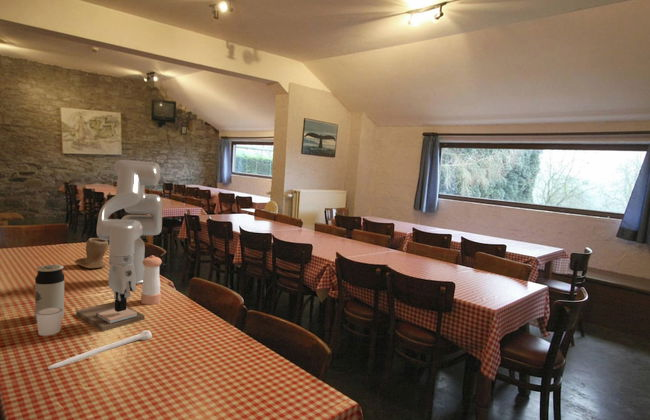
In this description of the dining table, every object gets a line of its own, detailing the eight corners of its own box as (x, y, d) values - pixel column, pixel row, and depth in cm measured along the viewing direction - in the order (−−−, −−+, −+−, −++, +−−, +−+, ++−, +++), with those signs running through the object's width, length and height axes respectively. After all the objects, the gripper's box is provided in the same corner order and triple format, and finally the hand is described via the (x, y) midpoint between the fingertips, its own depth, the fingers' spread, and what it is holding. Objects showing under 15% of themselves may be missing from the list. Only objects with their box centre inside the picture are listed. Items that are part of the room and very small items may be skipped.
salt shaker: (164, 300, 149) (166, 255, 147) (149, 305, 143) (151, 258, 141) (152, 297, 152) (153, 252, 150) (136, 302, 146) (138, 255, 144)
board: (76, 314, 130) (76, 310, 129) (116, 304, 141) (116, 301, 141) (102, 331, 118) (102, 327, 118) (144, 319, 130) (144, 315, 130)
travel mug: (61, 311, 131) (62, 263, 129) (65, 318, 125) (66, 268, 124) (33, 316, 125) (33, 266, 124) (36, 324, 120) (37, 271, 118)
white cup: (67, 330, 118) (68, 309, 117) (45, 338, 111) (45, 316, 110) (53, 325, 120) (53, 305, 119) (30, 333, 113) (30, 312, 113)
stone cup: (112, 267, 190) (112, 239, 188) (86, 271, 180) (87, 241, 179) (98, 261, 198) (99, 235, 197) (73, 265, 189) (74, 237, 187)
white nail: (52, 375, 93) (52, 364, 93) (46, 369, 96) (46, 359, 95) (154, 339, 117) (154, 330, 116) (147, 335, 119) (147, 327, 119)
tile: (110, 319, 120) (110, 323, 120) (136, 312, 128) (136, 315, 128) (96, 312, 126) (96, 315, 126) (122, 305, 133) (122, 309, 134)
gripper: (144, 262, 123) (142, 313, 125) (122, 253, 131) (120, 301, 133) (121, 265, 117) (120, 319, 119) (99, 256, 125) (98, 307, 127)
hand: (120, 310), depth 126 cm, fingers closed
